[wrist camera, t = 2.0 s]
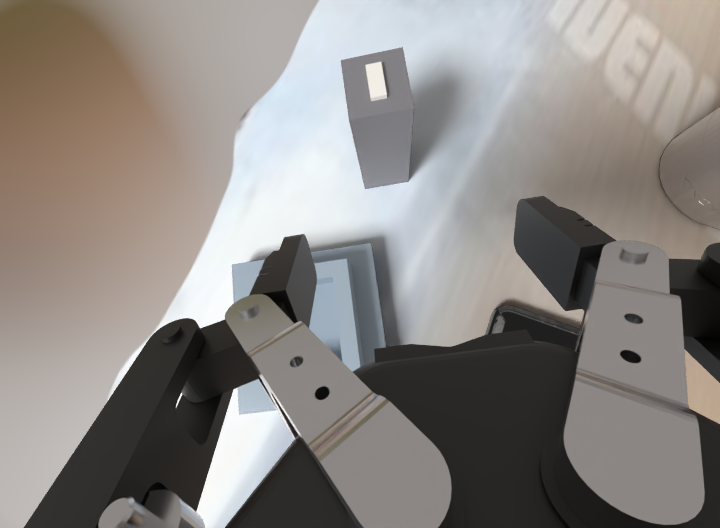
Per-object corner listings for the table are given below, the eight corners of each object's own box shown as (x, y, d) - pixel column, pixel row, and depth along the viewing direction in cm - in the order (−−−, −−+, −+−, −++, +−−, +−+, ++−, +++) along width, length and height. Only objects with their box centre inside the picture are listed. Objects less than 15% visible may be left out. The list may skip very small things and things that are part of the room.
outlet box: (243, 268, 29) (215, 258, 25) (372, 248, 28) (367, 234, 24) (250, 407, 27) (221, 424, 22) (392, 391, 26) (392, 404, 21)
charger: (358, 146, 30) (340, 56, 20) (400, 138, 30) (402, 43, 20) (365, 189, 29) (348, 116, 19) (408, 181, 29) (414, 104, 19)
